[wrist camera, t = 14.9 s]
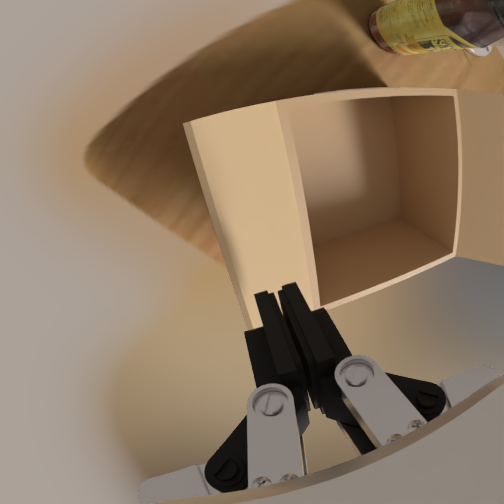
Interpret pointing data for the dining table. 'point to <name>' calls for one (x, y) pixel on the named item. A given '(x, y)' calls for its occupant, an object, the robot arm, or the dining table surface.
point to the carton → (373, 185)
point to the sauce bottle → (437, 25)
